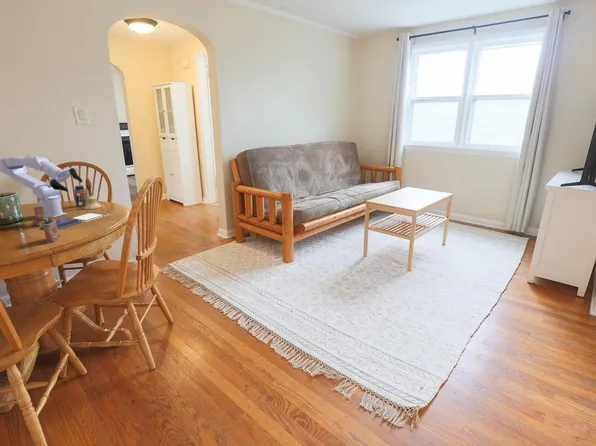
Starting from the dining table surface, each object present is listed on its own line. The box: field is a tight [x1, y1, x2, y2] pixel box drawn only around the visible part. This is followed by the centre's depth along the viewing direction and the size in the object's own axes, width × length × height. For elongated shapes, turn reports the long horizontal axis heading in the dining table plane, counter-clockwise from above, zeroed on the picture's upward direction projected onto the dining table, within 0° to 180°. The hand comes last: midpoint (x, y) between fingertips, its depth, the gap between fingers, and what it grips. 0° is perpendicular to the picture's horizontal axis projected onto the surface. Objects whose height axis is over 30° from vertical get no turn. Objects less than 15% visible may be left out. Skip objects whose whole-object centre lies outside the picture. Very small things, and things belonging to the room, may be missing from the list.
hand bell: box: [83, 178, 102, 210], centre depth 181 cm, size 8×8×16 cm
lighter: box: [42, 214, 61, 244], centre depth 134 cm, size 8×3×10 cm, turn 17°
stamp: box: [31, 206, 45, 227], centre depth 154 cm, size 5×5×8 cm
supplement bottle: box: [73, 184, 89, 208], centre depth 186 cm, size 6×6×11 cm
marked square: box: [70, 211, 110, 223], centre depth 166 cm, size 13×13×1 cm
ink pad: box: [39, 216, 82, 231], centre depth 153 cm, size 10×12×2 cm
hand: (74, 185), depth 157 cm, fingers open, 7 cm apart
